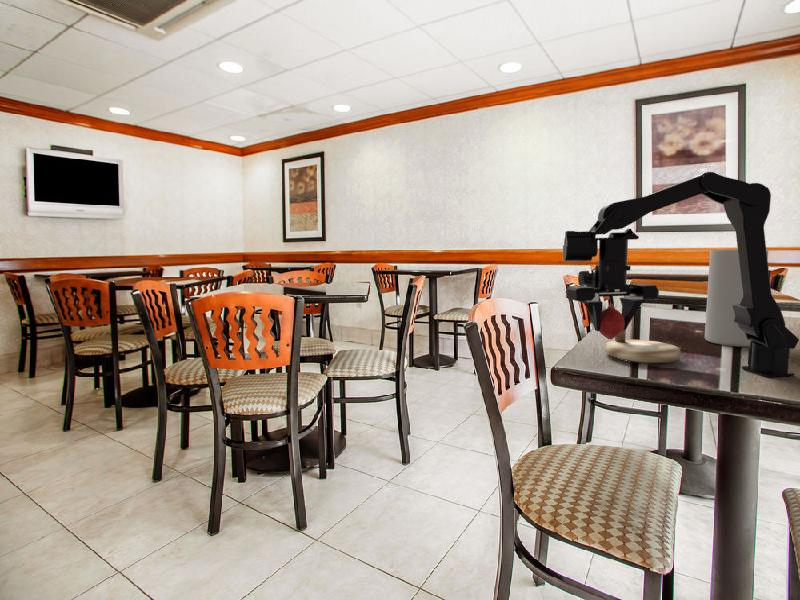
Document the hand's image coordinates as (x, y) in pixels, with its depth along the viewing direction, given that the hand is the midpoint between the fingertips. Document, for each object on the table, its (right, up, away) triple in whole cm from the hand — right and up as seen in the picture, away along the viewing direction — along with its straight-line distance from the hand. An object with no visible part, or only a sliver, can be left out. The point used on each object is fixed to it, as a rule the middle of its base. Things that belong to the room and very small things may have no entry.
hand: (610, 330), depth 103 cm
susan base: (+12, -7, +9) cm, 16 cm away
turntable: (+12, -7, +9) cm, 16 cm away
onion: (0, -2, 0) cm, 2 cm away
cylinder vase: (+44, -5, +22) cm, 49 cm away
